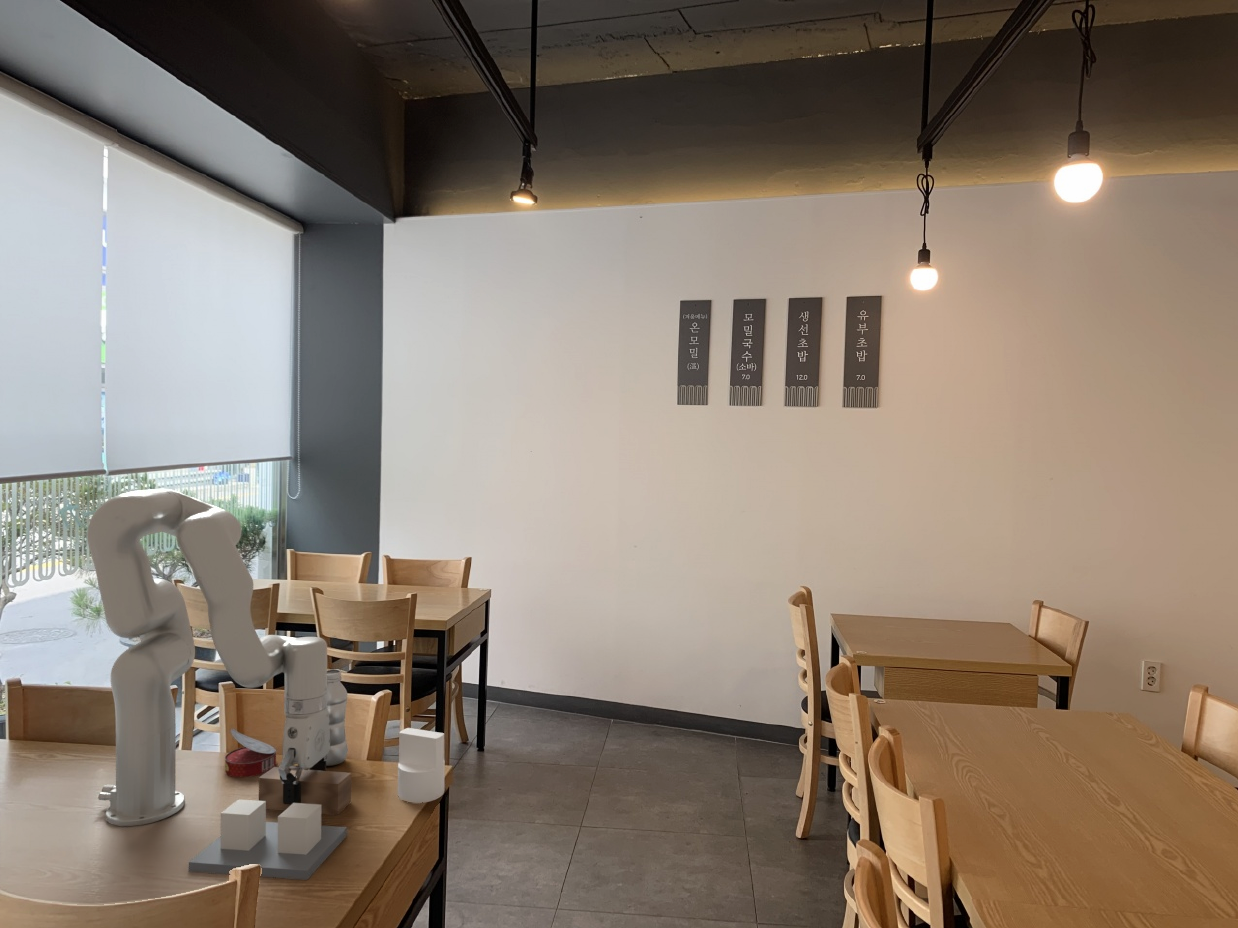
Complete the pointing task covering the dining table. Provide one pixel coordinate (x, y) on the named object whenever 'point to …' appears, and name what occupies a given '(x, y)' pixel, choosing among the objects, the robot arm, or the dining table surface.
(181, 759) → the dining table surface
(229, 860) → the board
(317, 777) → the beam
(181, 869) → the dining table surface
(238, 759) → the canned food
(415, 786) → the cylinder with rectangular tab
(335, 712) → the plastic bottle
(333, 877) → the dining table surface
